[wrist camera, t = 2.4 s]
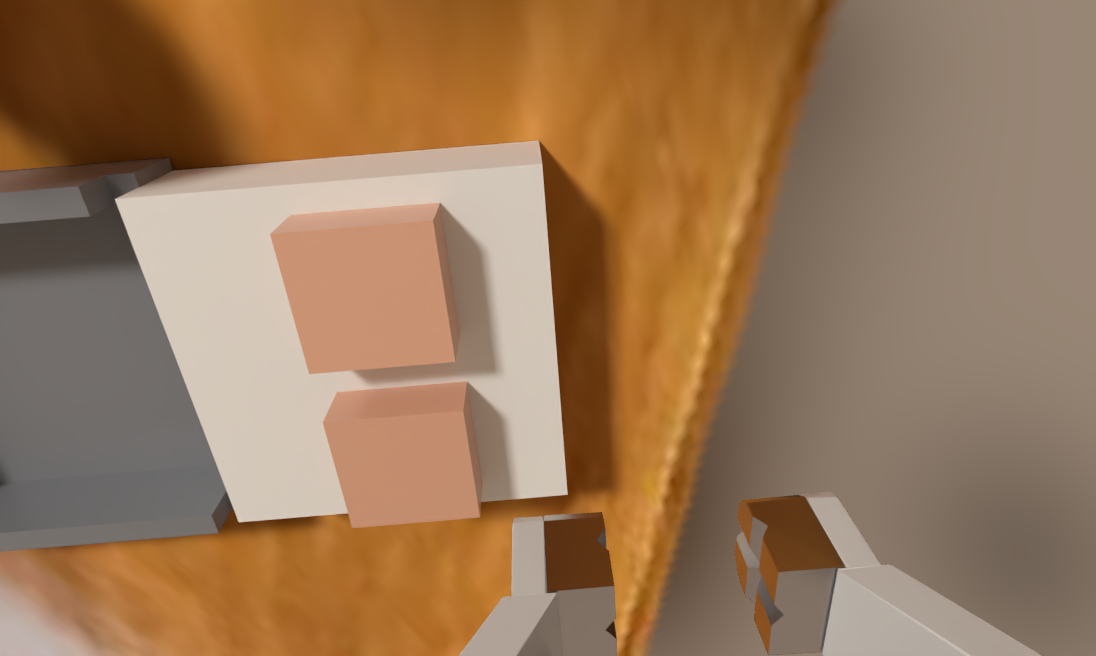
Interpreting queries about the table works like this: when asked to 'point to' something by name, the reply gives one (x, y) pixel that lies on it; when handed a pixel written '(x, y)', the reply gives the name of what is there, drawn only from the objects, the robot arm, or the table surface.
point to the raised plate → (304, 399)
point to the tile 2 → (405, 454)
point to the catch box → (91, 374)
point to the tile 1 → (369, 287)
